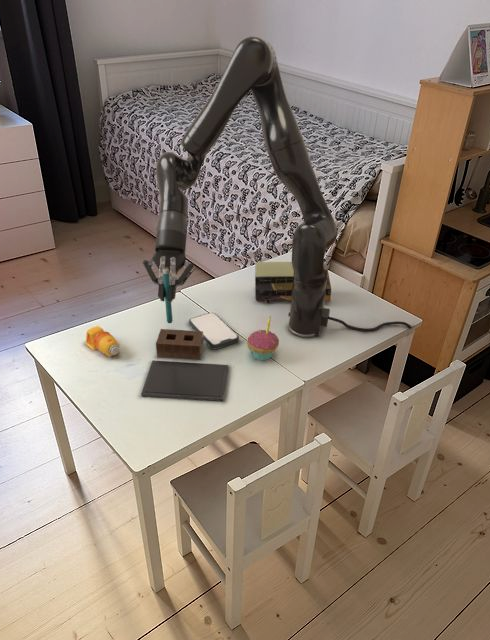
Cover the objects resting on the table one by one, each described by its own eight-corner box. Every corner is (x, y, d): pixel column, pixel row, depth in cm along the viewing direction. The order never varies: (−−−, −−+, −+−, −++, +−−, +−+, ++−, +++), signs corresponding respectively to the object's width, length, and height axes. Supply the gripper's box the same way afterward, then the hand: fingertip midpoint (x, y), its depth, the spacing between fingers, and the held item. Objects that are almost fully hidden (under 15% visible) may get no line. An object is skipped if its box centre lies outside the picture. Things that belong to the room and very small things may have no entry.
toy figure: (125, 355, 145) (101, 336, 151) (123, 338, 141) (98, 319, 148) (108, 363, 142) (84, 343, 148) (105, 347, 138) (80, 326, 145)
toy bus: (330, 305, 167) (332, 276, 161) (255, 305, 168) (255, 276, 161) (327, 288, 175) (329, 260, 169) (255, 289, 175) (255, 261, 169)
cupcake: (264, 342, 151) (266, 306, 144) (284, 357, 146) (287, 320, 139) (240, 353, 147) (241, 316, 139) (260, 369, 142) (261, 331, 134)
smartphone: (187, 323, 158) (212, 351, 147) (186, 319, 157) (212, 346, 146) (214, 315, 162) (240, 342, 151) (213, 311, 161) (240, 337, 150)
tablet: (228, 367, 142) (227, 364, 142) (222, 401, 132) (222, 398, 131) (152, 362, 143) (152, 359, 142) (141, 396, 132) (141, 393, 132)
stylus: (173, 320, 142) (169, 267, 132) (172, 323, 141) (167, 270, 131) (167, 320, 142) (163, 266, 132) (166, 323, 141) (161, 269, 131)
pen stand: (203, 344, 150) (203, 331, 147) (200, 359, 144) (199, 346, 141) (162, 342, 150) (160, 328, 147) (157, 357, 145) (155, 343, 142)
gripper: (200, 240, 140) (195, 305, 138) (148, 237, 140) (142, 302, 139) (196, 229, 132) (191, 298, 131) (141, 226, 133) (135, 295, 131)
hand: (166, 300), depth 135 cm, fingers closed on stylus, 1 cm apart
